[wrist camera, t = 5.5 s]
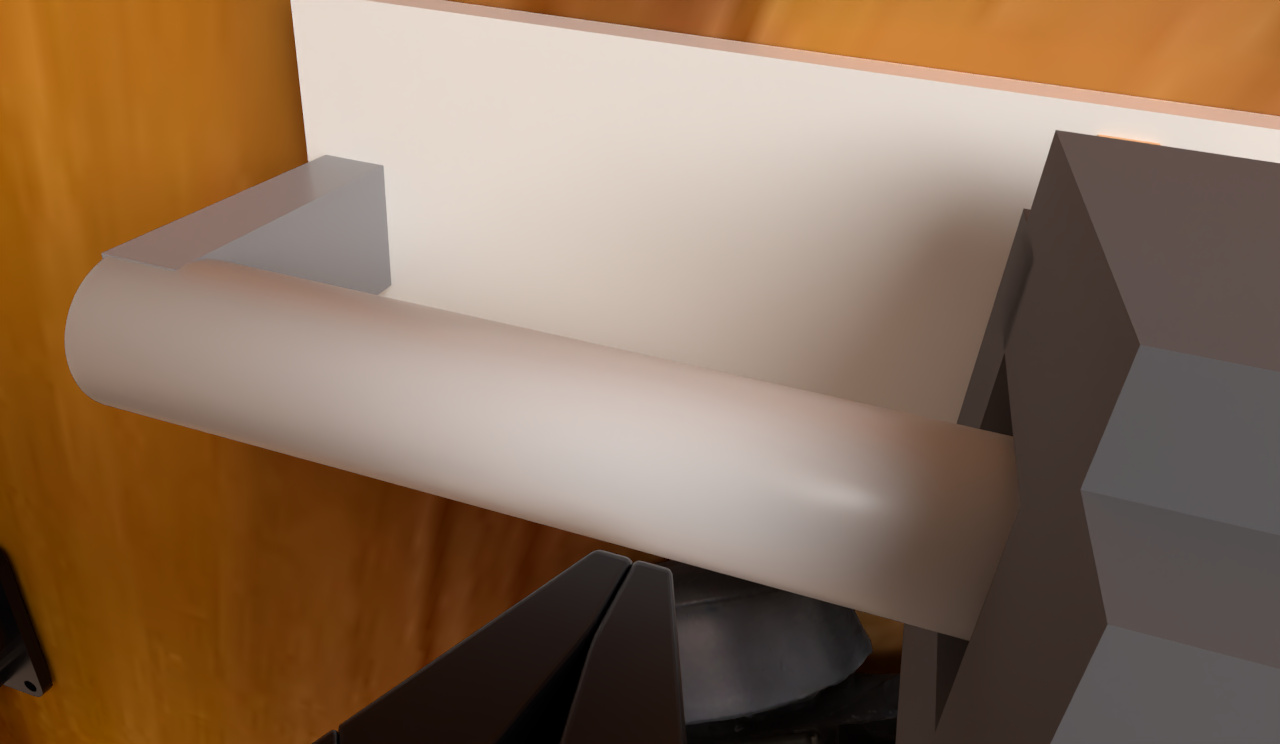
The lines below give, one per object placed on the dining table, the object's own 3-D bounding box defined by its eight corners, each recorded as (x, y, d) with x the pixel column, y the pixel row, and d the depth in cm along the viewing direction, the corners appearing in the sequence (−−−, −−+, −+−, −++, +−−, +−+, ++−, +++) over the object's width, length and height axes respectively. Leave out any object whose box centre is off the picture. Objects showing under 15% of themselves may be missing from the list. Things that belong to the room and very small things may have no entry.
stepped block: (1090, 631, 15) (1202, 1255, 8) (906, 583, 15) (868, 1121, 9) (1313, 157, 11) (1903, 618, 4) (1051, 118, 11) (1185, 459, 5)
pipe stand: (1298, 595, 16) (1510, 1040, 10) (359, 367, 20) (98, 580, 14) (1568, 156, 12) (2209, 448, 6) (323, -17, 16) (-64, 48, 10)
